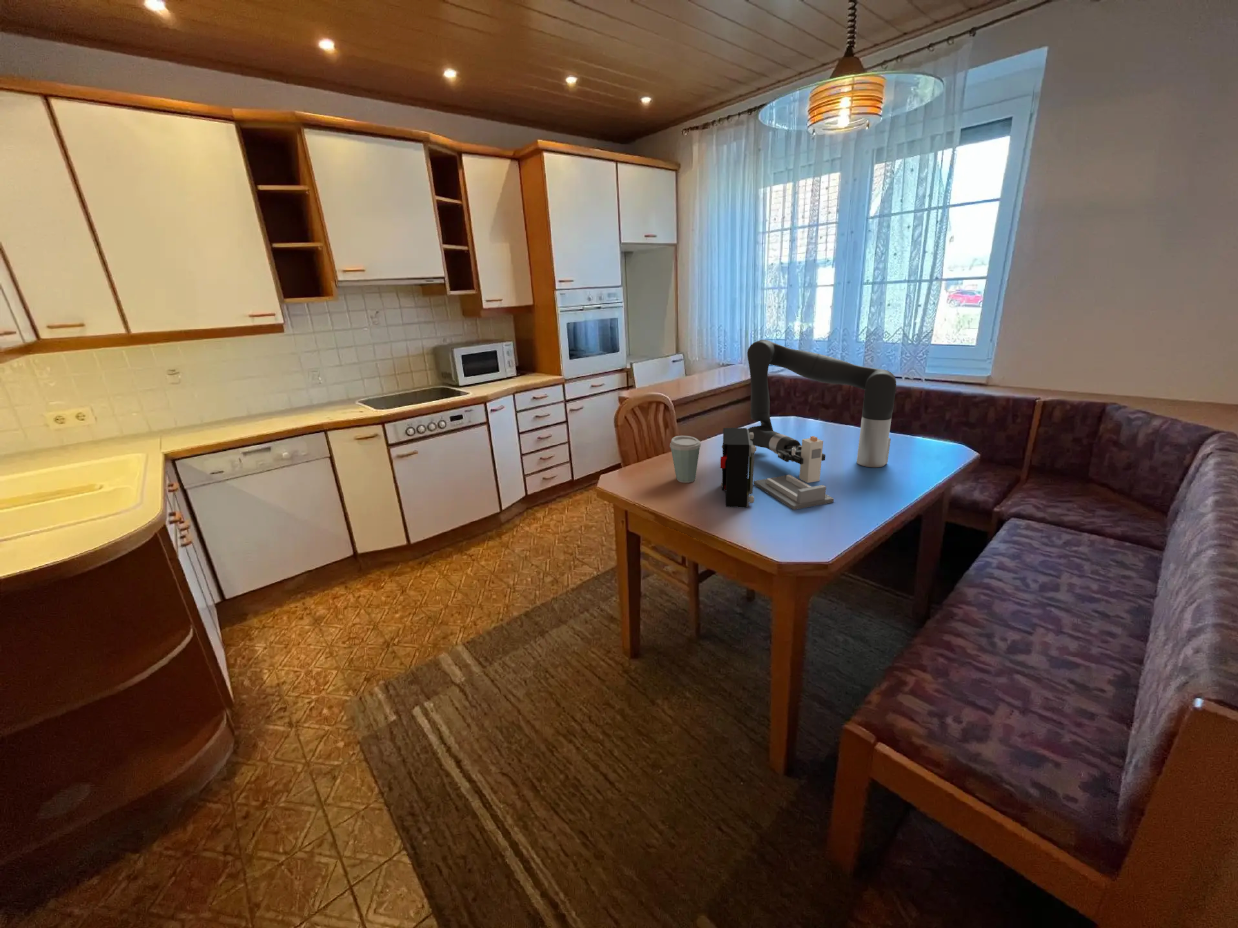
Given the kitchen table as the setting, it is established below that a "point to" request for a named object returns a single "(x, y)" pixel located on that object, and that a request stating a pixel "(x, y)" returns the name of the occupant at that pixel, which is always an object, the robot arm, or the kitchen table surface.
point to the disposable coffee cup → (685, 457)
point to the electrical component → (737, 466)
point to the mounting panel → (794, 492)
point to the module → (811, 459)
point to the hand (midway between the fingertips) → (813, 459)
